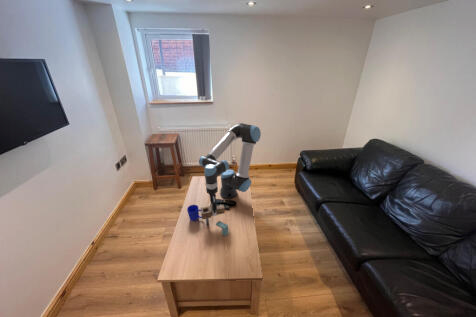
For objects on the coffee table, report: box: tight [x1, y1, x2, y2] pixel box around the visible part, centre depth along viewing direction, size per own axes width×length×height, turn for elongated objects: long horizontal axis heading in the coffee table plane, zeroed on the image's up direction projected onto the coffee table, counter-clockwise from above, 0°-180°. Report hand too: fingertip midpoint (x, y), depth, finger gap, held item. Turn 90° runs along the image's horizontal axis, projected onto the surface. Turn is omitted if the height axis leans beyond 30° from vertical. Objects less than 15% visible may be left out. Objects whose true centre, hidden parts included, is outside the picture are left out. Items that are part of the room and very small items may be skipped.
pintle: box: [205, 218, 210, 226], centre depth 140 cm, size 2×2×8 cm
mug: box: [186, 204, 202, 222], centre depth 145 cm, size 8×12×10 cm
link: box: [200, 204, 226, 220], centre depth 138 cm, size 16×6×5 cm, turn 107°
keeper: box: [215, 220, 229, 237], centre depth 133 cm, size 4×8×7 cm, turn 57°
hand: (214, 213), depth 139 cm, fingers closed on link, 3 cm apart
